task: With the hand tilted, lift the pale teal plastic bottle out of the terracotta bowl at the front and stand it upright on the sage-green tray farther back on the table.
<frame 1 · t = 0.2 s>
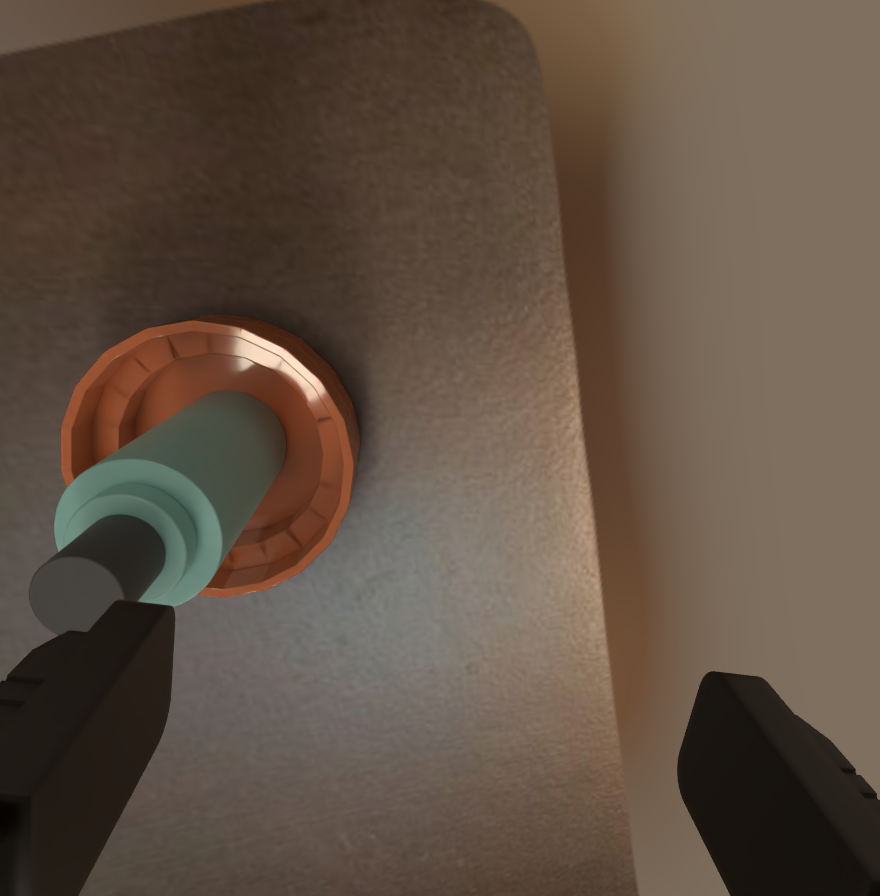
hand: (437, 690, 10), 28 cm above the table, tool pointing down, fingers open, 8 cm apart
bowl: (234, 440, 37), on the table
bottle: (232, 443, 36), point 1 cm above the table, touching bowl
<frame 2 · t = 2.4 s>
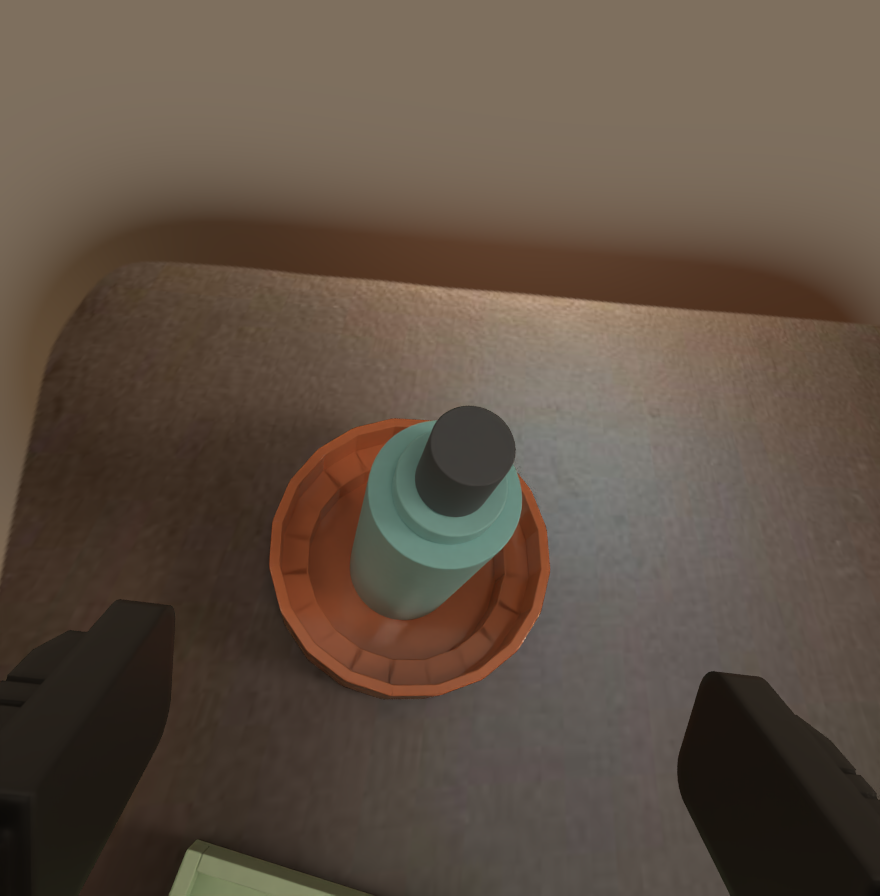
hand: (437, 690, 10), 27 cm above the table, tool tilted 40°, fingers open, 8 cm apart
bowl: (402, 567, 37), on the table
bottle: (403, 565, 37), point 1 cm above the table, touching bowl
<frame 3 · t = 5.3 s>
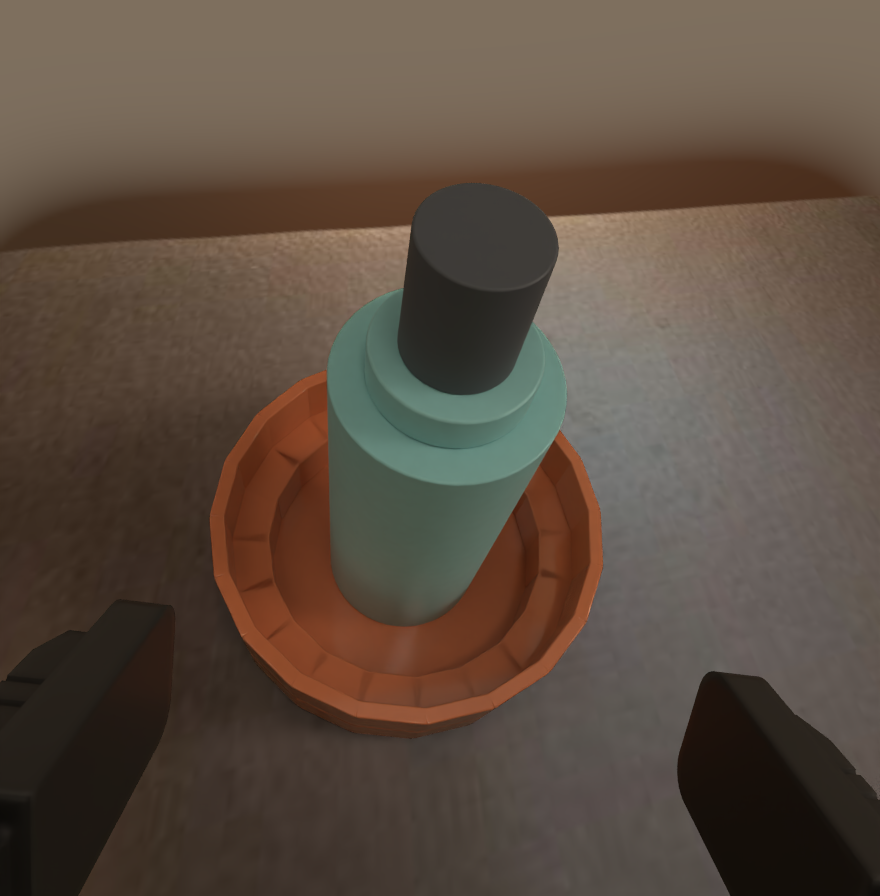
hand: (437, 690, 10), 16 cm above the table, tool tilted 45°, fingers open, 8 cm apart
bowl: (402, 559, 28), on the table
bottle: (403, 554, 28), point 1 cm above the table, touching bowl
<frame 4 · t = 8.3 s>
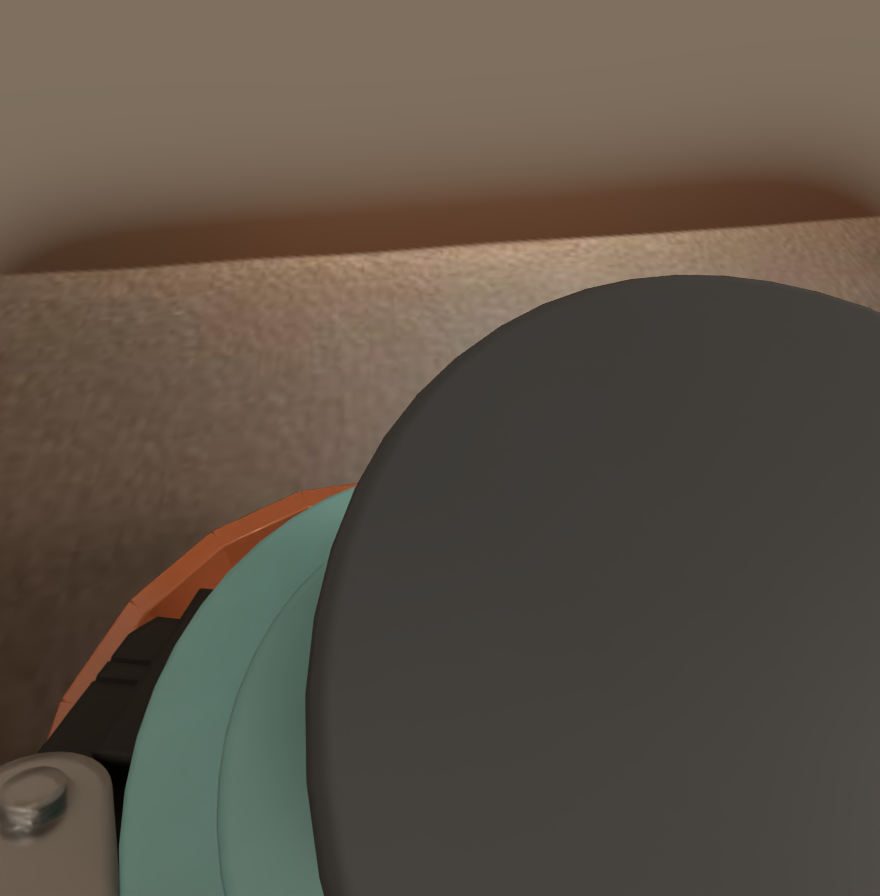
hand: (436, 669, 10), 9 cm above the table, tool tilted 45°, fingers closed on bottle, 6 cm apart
bowl: (385, 801, 17), on the table
bottle: (387, 800, 17), point 1 cm above the table, touching bowl, gripper
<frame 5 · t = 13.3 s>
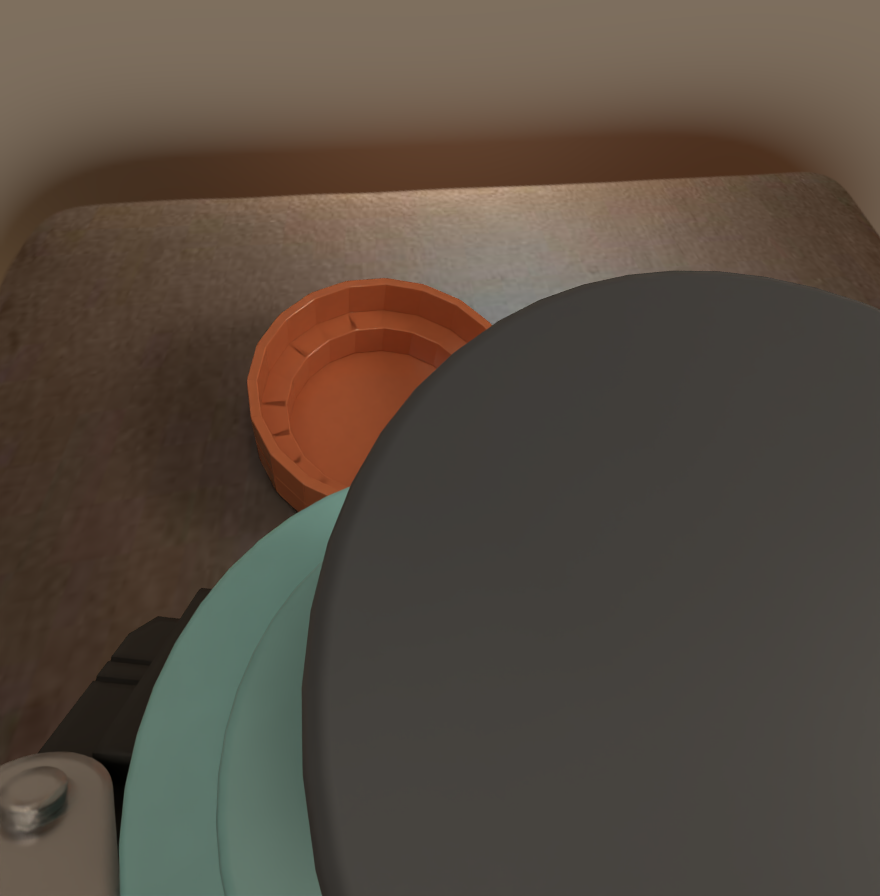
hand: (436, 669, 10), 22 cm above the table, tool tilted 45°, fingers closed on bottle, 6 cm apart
bowl: (383, 431, 38), on the table
bottle: (387, 799, 17), point 14 cm above the table, touching gripper
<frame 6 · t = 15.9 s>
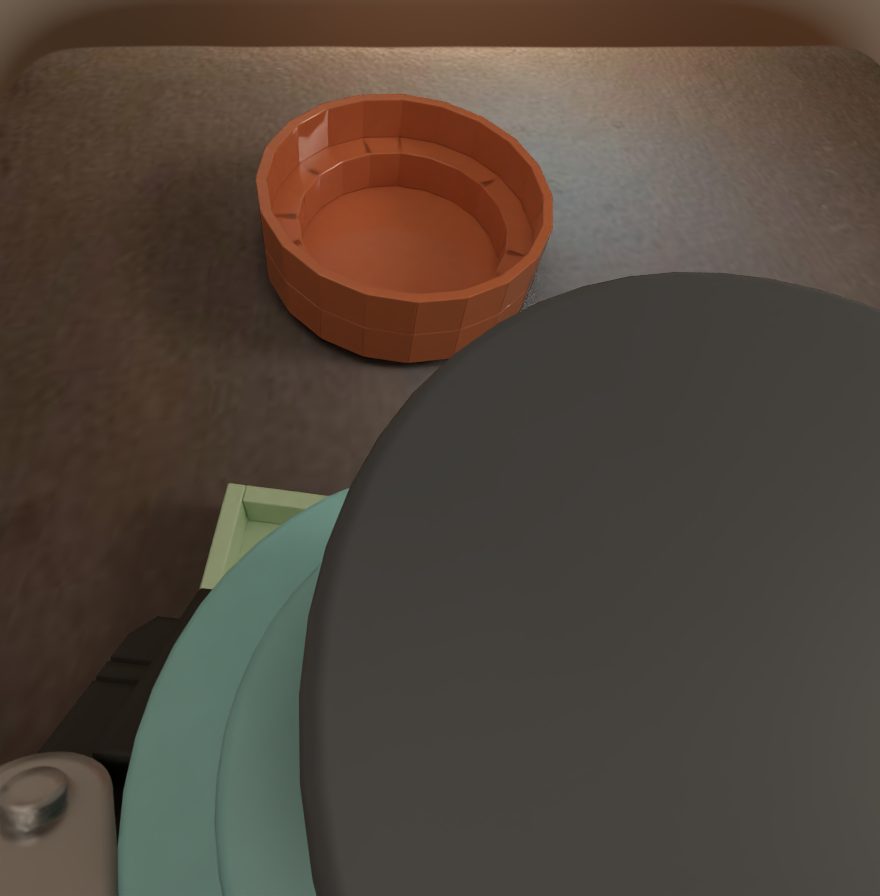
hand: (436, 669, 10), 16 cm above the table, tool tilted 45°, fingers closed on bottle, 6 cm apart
bowl: (400, 262, 36), on the table
tray: (375, 799, 23), on the table
bottle: (387, 800, 17), point 7 cm above the table, touching gripper
when the fingers open (9 cm above the table, at t = 18.3 s): bottle stays where it is, resting on tray.
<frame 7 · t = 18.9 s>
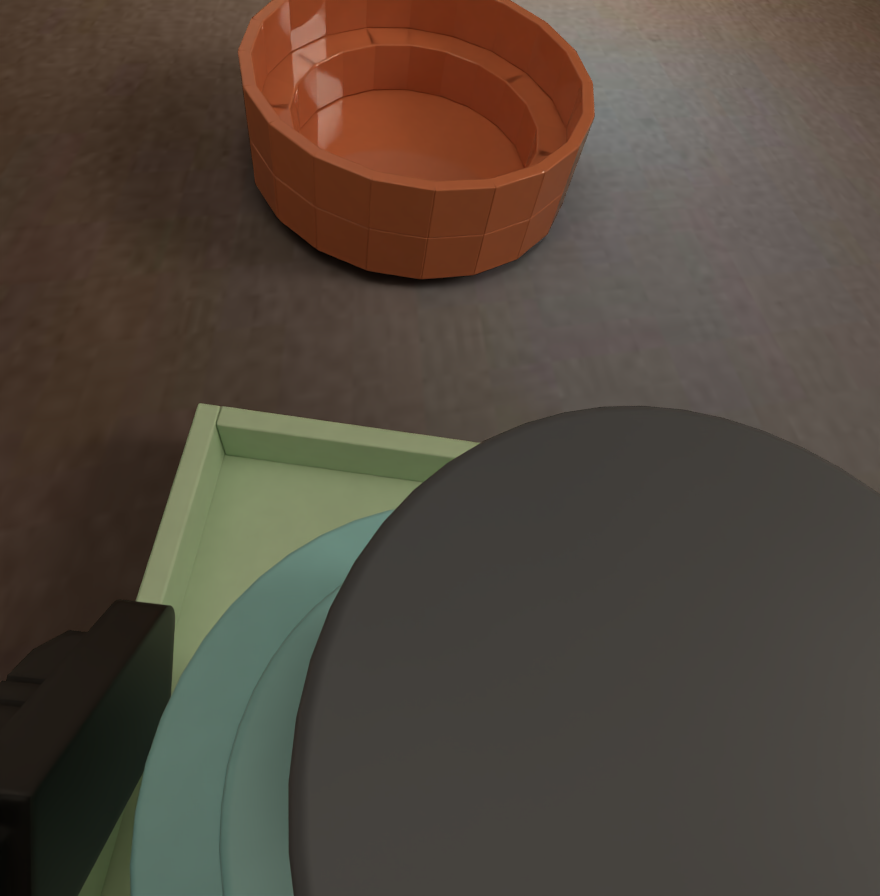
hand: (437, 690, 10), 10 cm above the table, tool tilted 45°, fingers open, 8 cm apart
bowl: (410, 173, 30), on the table
tray: (384, 802, 18), on the table
bottle: (384, 807, 17), point 1 cm above the table, touching tray
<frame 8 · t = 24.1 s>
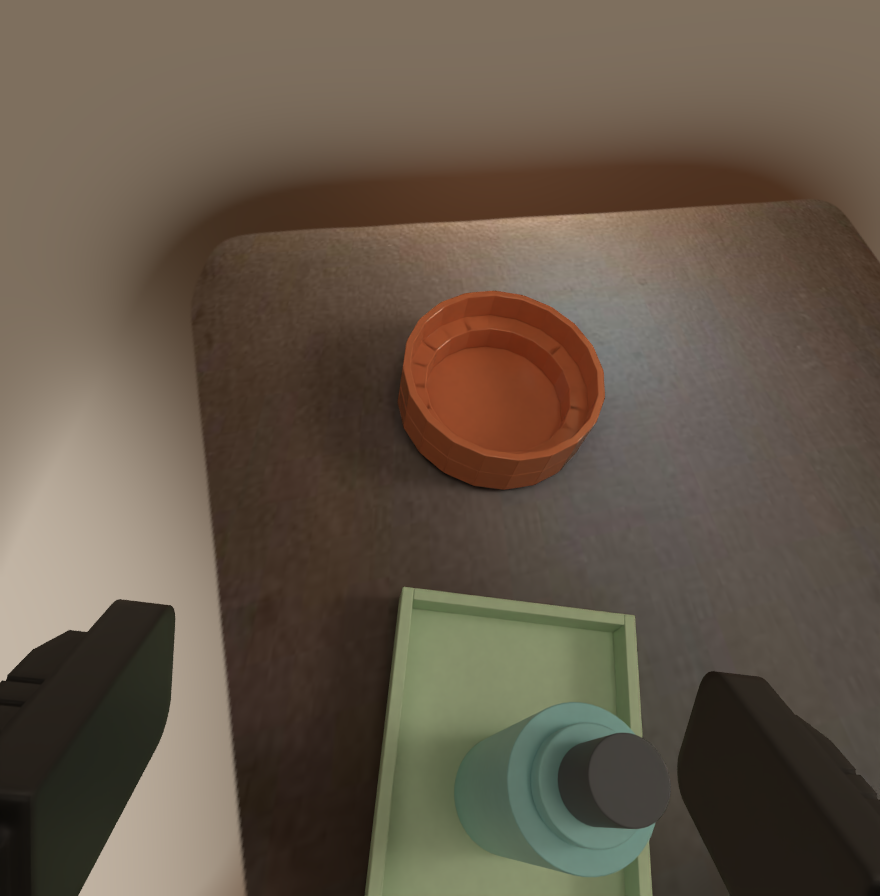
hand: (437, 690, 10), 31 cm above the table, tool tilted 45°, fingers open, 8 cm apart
bowl: (491, 407, 50), on the table
tray: (505, 791, 37), on the table
bottle: (507, 793, 37), point 1 cm above the table, touching tray
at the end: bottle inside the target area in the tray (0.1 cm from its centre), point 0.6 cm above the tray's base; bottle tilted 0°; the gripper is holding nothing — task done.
